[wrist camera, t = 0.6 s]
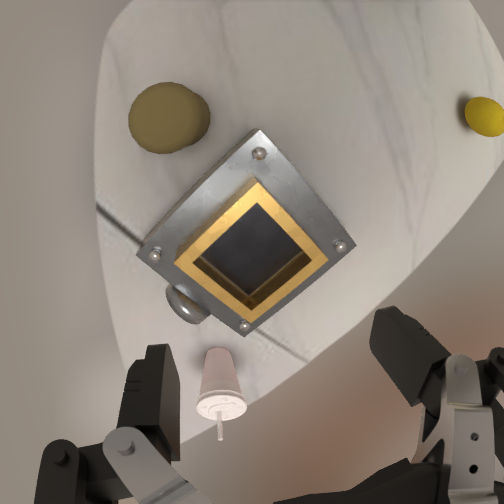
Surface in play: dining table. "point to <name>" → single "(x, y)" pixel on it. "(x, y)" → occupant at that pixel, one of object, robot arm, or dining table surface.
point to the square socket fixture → (244, 239)
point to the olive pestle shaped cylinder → (168, 118)
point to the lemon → (485, 116)
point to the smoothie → (220, 389)
